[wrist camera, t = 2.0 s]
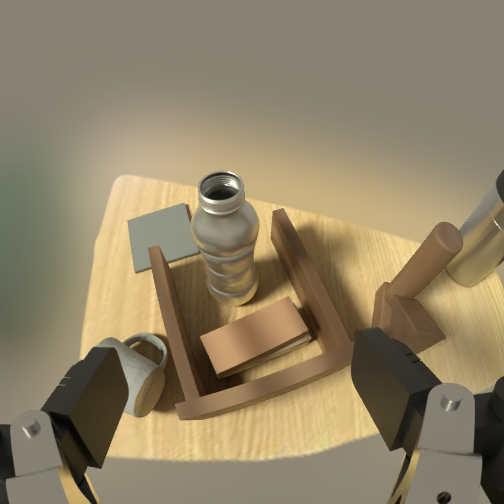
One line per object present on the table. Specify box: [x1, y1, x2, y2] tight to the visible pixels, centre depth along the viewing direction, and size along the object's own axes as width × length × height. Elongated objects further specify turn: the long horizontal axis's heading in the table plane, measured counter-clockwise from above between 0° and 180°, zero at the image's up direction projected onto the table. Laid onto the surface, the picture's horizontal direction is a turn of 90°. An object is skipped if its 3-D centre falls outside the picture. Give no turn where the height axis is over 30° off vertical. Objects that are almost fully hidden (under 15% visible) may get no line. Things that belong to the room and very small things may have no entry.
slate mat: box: [128, 203, 199, 273], centre depth 45 cm, size 10×10×1 cm
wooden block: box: [371, 222, 463, 354], centre depth 30 cm, size 4×11×18 cm, turn 163°
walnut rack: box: [148, 208, 354, 420], centre depth 34 cm, size 18×22×12 cm
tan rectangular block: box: [200, 296, 311, 379], centre depth 35 cm, size 12×5×6 cm, turn 112°
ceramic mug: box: [96, 333, 168, 418], centre depth 31 cm, size 11×8×8 cm
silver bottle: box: [190, 171, 259, 306], centre depth 32 cm, size 6×7×20 cm
